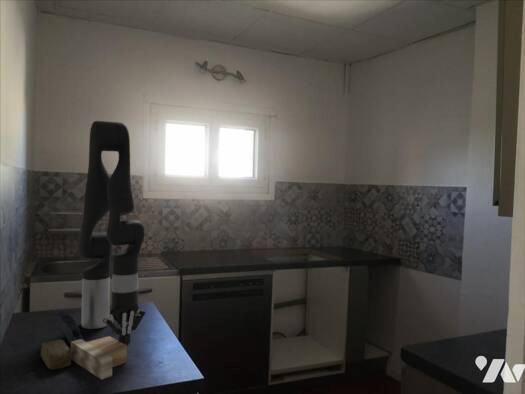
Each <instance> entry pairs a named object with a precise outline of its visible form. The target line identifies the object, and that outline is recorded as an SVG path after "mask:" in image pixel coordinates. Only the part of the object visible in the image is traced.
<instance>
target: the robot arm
mask: <svg viewBox="0 0 525 394" xmlns="http://www.w3.org/2000/svg"><path fill="white" fill-rule="evenodd" d="M89 130H90V131H89V139H88V140H89V143H88V148H89V149H88V150H89V151H88V165H87V166H88V167H87V168H88V169H87V175H86V183H85V188H84V199H83V214H82V223H81V228H80V232H79V238H78V242H77V243H78V244H77V245H78V246H77V252H78V255H79V258H81V259H83V260H95V259H99V261H97V262H96V263H95V264H93V265H91V266H88V267H86V268H84V269H83V270H82V276H81V277H82V280H81V282H82V284H81V285H82V286H81V313H80V314H81V317H80V318H81V319H80V320H81V322H80V323H81V327H82V328H83V329H87V330H95V329H96V330H97V329H101V328H105V327H107V328H108V330H110V331H111V332H112V333H113V334H116V335H118V341H120V342H121V343H123V344H125V345H127V347H129V344H131V333H132V332H133V331H135V330H137V328H138V326H139V325H140V324H141V321H142V320H143V318H144V316H145V315H146V311H145V310H144V311H143V310H142V309H140V307H139V274H138V273H139V272H138V271H139V269H138V268H139V265H138V264H139V256H140V252H141V249H142V246H143V242H144V238H145V232H146V231H145V227H144V224H143V223H142V222H141V221H140V220H136V219H135V220H134V219H133V220H121V217H122V216H126V215H129V214H132V213H133V212H134V210H135V203H134V196H133V191H132V181H131V141H130V138H131V137H130V133H129V129H128V125H126V124H125V123H124V122H120V121H108V120H107V121H106V120H94V121H93V122H92V124H91V126H90V129H89ZM103 152H118V160H117V164H116V165H115V168H114V171H112V174H109V172H108V170H107V168H106V167H105V165H104V162H103V159H102V154H103ZM107 214H108V222H107V226H106V232H104V231H102V232H94V230H95V229H96V226H98V225H97V224H98V223H99V222H100V221H101V220H102V219H103V218H104V217H105V216H106V215H107ZM126 245H127V248H126V249H125V250H123V251H120V252H118V253H116V254H114V255H113V257H112V250H113V249H112V247H113V246H126ZM111 261H112V262H111ZM111 265H112V278H111ZM110 300H111V301H110ZM110 303H111V305H110ZM110 306H111V310H110ZM115 322H116V325H115Z"/></svg>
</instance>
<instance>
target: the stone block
mask: <svg viewBox="0 0 525 394" xmlns="http://www.w3.org/2000/svg"><path fill="white" fill-rule="evenodd" d="M40 347H41V349H40V357H41V359H42V360H43V362H44V364H45V366H46V367H47V368H48V369H49V370H58V369H59V370H60V369H64V368H67V367H71V365H72V360H71V347H69V346H68V345H67V344H66V342H65V341H64V340H63V339H56V340H49V341H45V342H42V343H41V346H40Z"/></svg>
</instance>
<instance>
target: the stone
mask: <svg viewBox="0 0 525 394" xmlns="http://www.w3.org/2000/svg"><path fill="white" fill-rule="evenodd" d="M54 317H55V318H56V321H57V322H58V324H59V325H60V327H61V329H62V330H63V332H64V334H65V336H66V339H67V341H68V343H69V344H70V345H71V342H72V341H76V340H80V339H82V340H84V341H85V338H84V337H83V335H81V330H80V327H79V326H78V323H77V322H76V319H74V318H73V317H72V316H71V315H69V314H68V313H66V312H65V311H64V310H63V309H59V310H58V311H56V312H55V315H54Z"/></svg>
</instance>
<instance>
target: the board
mask: <svg viewBox="0 0 525 394" xmlns="http://www.w3.org/2000/svg"><path fill="white" fill-rule="evenodd" d="M87 342H88V341H86V340H85V339H84V340H82V339H80V340H76V341H72V342H71V344H70V350H71V361H73V362H74V363H75V364H77V365H79V366H81V367H82V368H83V369H84V370H87V371H88V372H89V373H91V374H92V375H93V376H95V377H97V378H98V379H99V380H104V379H107V378H111V377H113V367H112V357H111V356H109V355H108V354H106V353H104V352H103V351H101V350H99V349H97V348H96V347H94V346H92V345H91V344H89V343H87Z"/></svg>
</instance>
